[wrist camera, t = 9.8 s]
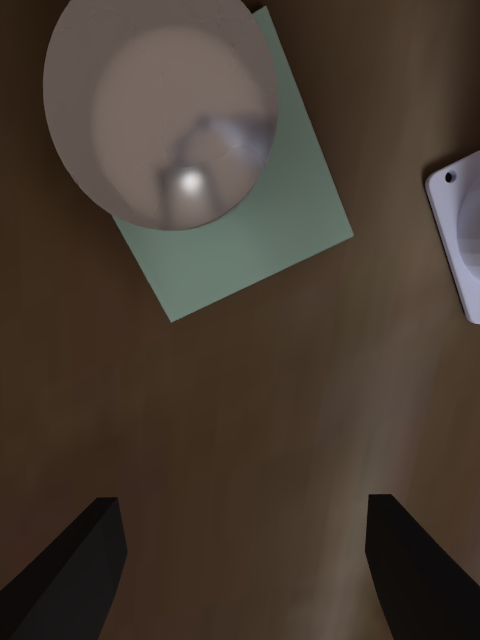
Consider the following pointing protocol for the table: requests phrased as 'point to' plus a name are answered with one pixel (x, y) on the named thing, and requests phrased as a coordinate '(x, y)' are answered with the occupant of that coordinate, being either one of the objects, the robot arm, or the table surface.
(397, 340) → the table surface
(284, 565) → the table surface
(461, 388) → the table surface
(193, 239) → the rubber mat
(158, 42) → the polished metal knob
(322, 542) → the table surface
